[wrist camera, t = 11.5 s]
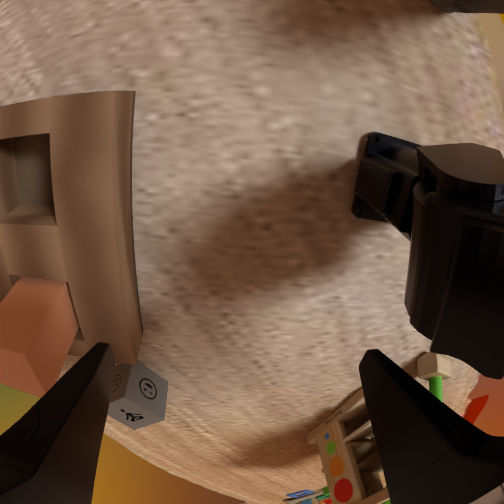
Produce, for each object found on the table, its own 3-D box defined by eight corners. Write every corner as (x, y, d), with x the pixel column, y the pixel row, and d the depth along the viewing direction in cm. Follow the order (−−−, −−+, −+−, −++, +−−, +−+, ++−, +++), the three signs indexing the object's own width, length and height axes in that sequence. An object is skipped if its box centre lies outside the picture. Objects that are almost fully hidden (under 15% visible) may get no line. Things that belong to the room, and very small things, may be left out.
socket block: (135, 91, 16) (114, 90, 12) (143, 331, 25) (135, 364, 22) (-16, 112, 14) (-48, 120, 10) (21, 313, 23) (5, 339, 20)
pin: (79, 262, 21) (24, 355, 12) (88, 306, 23) (49, 399, 14) (36, 258, 20) (-25, 339, 11) (47, 300, 22) (2, 384, 14)
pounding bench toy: (405, 338, 30) (474, 467, 15) (459, 351, 34) (515, 442, 18) (303, 436, 39) (326, 536, 24) (367, 435, 43) (394, 516, 28)
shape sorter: (347, 494, 76) (350, 504, 72) (297, 507, 77) (299, 517, 73) (343, 477, 59) (346, 491, 55) (275, 494, 61) (277, 507, 57)
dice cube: (140, 394, 30) (134, 429, 26) (106, 372, 28) (97, 408, 24) (168, 381, 29) (164, 419, 25) (133, 357, 27) (124, 396, 23)
